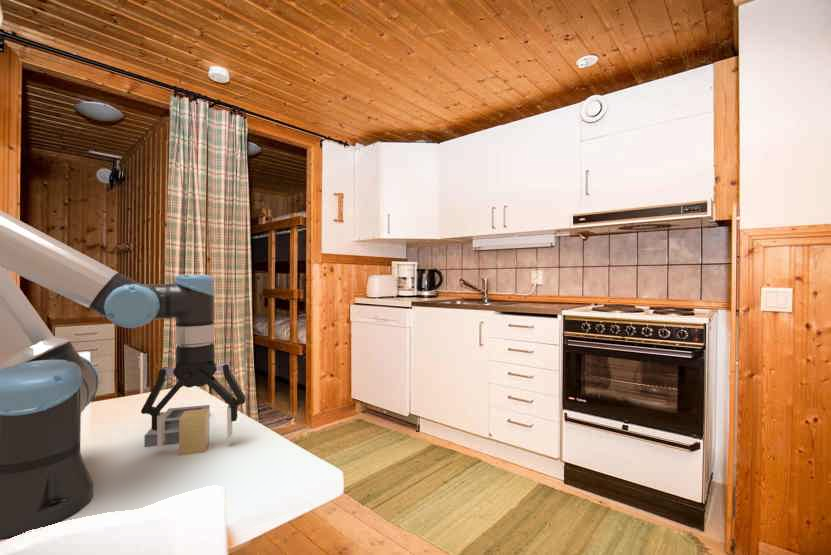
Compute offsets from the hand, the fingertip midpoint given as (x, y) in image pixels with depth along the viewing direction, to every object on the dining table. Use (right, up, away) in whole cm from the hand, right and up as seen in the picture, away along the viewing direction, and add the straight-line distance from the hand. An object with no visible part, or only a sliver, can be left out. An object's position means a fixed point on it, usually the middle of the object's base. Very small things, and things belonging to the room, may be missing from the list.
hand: (196, 439), depth 89 cm
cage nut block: (0, -2, 0) cm, 2 cm away
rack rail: (-11, -2, +12) cm, 16 cm away
